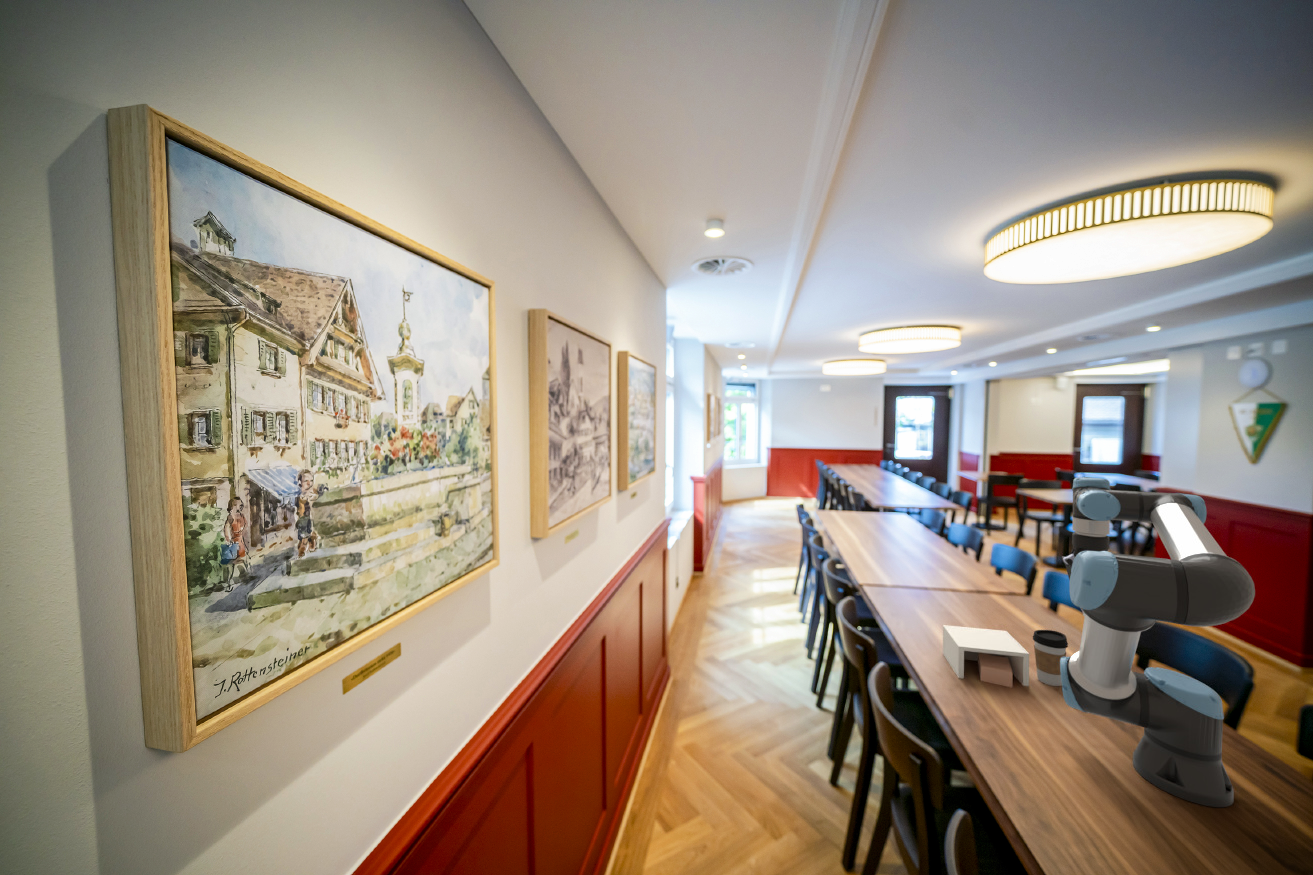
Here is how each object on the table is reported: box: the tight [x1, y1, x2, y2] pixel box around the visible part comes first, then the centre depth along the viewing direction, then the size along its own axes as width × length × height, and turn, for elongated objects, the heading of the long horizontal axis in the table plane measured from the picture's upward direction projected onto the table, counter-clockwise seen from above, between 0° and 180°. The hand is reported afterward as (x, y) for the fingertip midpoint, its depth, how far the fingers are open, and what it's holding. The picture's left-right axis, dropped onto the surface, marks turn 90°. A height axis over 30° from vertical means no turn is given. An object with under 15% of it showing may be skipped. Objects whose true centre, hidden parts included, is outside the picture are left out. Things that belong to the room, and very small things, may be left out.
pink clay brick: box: [977, 652, 1014, 688], centre depth 149 cm, size 10×8×5 cm
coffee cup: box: [1032, 629, 1069, 687], centre depth 146 cm, size 8×8×15 cm
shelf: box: [942, 624, 1030, 687], centre depth 153 cm, size 16×19×10 cm
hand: (1089, 617), depth 130 cm, fingers closed
